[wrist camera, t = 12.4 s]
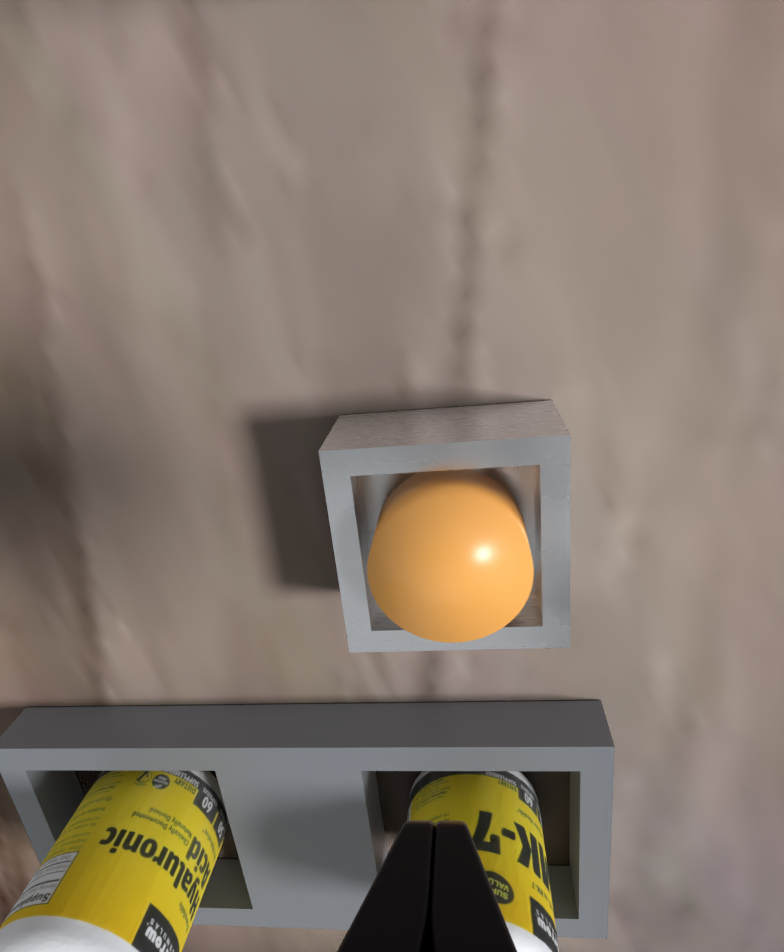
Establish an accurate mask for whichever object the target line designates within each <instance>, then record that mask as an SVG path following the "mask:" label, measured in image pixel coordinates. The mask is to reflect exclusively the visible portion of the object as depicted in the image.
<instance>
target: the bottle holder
mask: <svg viewBox="0 0 784 952" xmlns="http://www.w3.org/2000/svg"><path fill="white" fill-rule="evenodd" d="M75 770H91V771H215V772H216V776H217V780H218V783H219V787H220V791H221V794H222V798H223V801H224V805H225V809H226V812H227V816H228V820H229V823H230V827H231V831H232V834H233V838H234V842H235V845H236V849H237V852H238V856H239V859H217V860H216V862H215V865H214V868H213V870H212V873H211V875H210V878H209V881H208V883H207V885H206V888H205V891H204V893H203V896H202V899H201V901H200V904H199V907H198V910H197V912H196V915H195V918H194V920H193V923H192V924H195V925H224V926H253V927H282V928H312V929H341V930H349V928H350V926H351V924H352V922H353V920H354V918H355V916H356V914H357V912H358V910H359V908H360V906H361V905H362V903H363V901H364V899H365V897H366V895H367V893H368V891H369V889H370V887H371V885H372V883H373V881H374V879H375V878H376V876H377V874H378V872H379V870H380V868H381V866H382V864H383V862H384V860H385V858H386V856H387V854H388V852H387V845H386V838H385V832H384V825H383V818H382V811H381V805H380V798H379V791H378V785H377V778H376V771H570V866H555V865H547V866H548V873H549V880H550V886H551V896H552V904H553V912H554V919H555V925H556V932H557V937H574V938H603V939H607V932H608V905H609V878H610V852H611V825H612V799H613V772H614V744H613V740H612V737H611V733H610V730H609V727H608V723H607V720H606V716H605V713H604V710H603V706H602V703H601V700H599V701H518V702H437V703H355V704H274V705H193V706H111V707H30V708H25V709H24V710H23V711H22V713H21V714H20V715H19V716H18V717H17V718H16V719H15V721H14V722H13V723H12V724H11V725H10V726H9V727H8V728H7V730H6V731H5V732H4V733H3V734H2V735H1V736H0V773H1V775H2V778H3V780H4V782H5V784H6V787H7V789H8V791H9V793H10V796H11V798H12V800H13V802H14V805H15V807H16V809H17V812H18V814H19V816H20V818H21V821H22V823H23V825H24V827H25V830H26V832H27V834H28V836H29V839H30V841H31V843H32V845H33V848H34V850H35V852H36V854H37V857H38V859H39V861H40V863H41V864H42V862H43V861H44V859H45V857H46V856H47V854H48V853H49V851H50V850H51V848H52V847H53V845H54V844H55V842H56V841H57V839H58V838H59V836H60V834H61V833H62V831H63V830H64V828H65V826H66V825H67V823H68V822H69V820H70V819H71V817H72V816H73V814H74V813H75V811H76V810H77V808H78V807H79V805H80V804H81V802H82V801H83V799H84V798H85V796H84V794H83V791H82V788H81V786H80V783H79V781H78V778H77V775H76V773H75Z"/></svg>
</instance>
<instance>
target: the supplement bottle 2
mask: <svg viewBox="0 0 784 952" xmlns="http://www.w3.org/2000/svg"><path fill="white" fill-rule="evenodd" d="M409 820H429V821H432V822H434V824H435V826H436V824H437V822H439V821H463V822H465V823H466V825H467V826H468V829H469V831H470V834H471V836H472V839H473V841H474V844H475V846H476V849H477V851H478V854H479V856H480V859H481V861H482V864H483V866H484V869H485V872H486V874H487V877H488V879H489V882H490V884H491V887H492V889H493V892H494V894H495V897H496V899H497V902H498V904H499V907H500V909H501V912H502V914H503V917H504V920H505V922H506V925H507V927H508V930H509V932H510V935H511V937H512V940H513V942H514V945H515V947H516V950H517V952H559V949H558V942H557V932H556V925H555V919H554V912H553V904H552V896H551V886H550V880H549V873H548V866H547V859H546V852H545V846H544V837H543V830H542V822H541V815H540V808H539V802H538V798H537V795H536V792H535V790H534V788H533V786H532V785H531V783H530V782H529V780H528V779H527V778H526V777H525V776H524V775H523V774H522V773H521V772H520V771H422V772H421V773H420V775H419V776H418V777H417V778H416V780H415V782H414V784H413V786H412V788H411V791H410V796H409V803H408V815H407V821H409Z"/></svg>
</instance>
